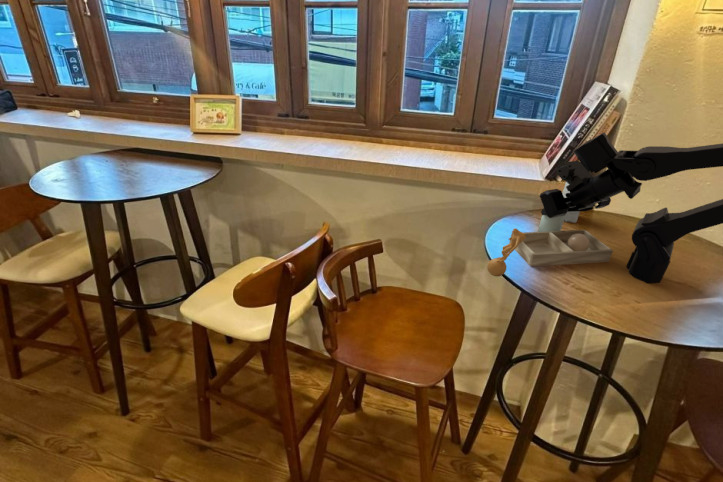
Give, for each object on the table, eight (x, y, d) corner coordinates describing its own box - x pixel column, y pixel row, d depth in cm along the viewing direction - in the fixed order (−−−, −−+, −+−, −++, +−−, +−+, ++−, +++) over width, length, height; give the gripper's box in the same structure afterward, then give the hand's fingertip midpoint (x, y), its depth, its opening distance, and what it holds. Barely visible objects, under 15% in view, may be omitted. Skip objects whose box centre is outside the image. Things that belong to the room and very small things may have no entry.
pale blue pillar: (562, 241, 104) (575, 199, 98) (543, 242, 103) (556, 200, 97) (550, 231, 108) (563, 191, 102) (532, 232, 107) (544, 191, 102)
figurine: (488, 263, 93) (499, 216, 87) (515, 269, 91) (528, 222, 85) (483, 282, 86) (494, 233, 80) (512, 289, 84) (526, 239, 78)
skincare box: (576, 225, 112) (589, 185, 106) (559, 223, 113) (572, 183, 107) (570, 216, 117) (583, 177, 111) (555, 214, 118) (567, 175, 112)
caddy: (607, 264, 95) (613, 250, 93) (529, 269, 92) (533, 254, 90) (580, 242, 103) (585, 229, 101) (508, 246, 100) (511, 233, 98)
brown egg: (590, 255, 96) (596, 239, 94) (572, 256, 95) (578, 239, 93) (578, 246, 100) (583, 229, 98) (561, 247, 99) (566, 230, 97)
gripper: (616, 150, 94) (564, 178, 109) (557, 157, 87) (511, 187, 102) (635, 194, 92) (580, 217, 106) (576, 205, 85) (526, 228, 99)
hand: (549, 211), depth 103 cm, fingers closed on pale blue pillar, 5 cm apart
